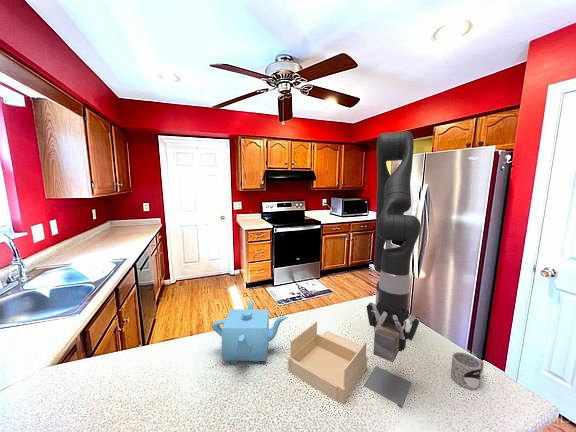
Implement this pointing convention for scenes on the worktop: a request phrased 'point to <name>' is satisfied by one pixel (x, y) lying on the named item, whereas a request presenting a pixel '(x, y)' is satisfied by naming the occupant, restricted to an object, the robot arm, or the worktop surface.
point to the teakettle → (246, 334)
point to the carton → (327, 362)
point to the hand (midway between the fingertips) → (389, 345)
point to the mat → (388, 385)
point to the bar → (387, 341)
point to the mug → (466, 370)
